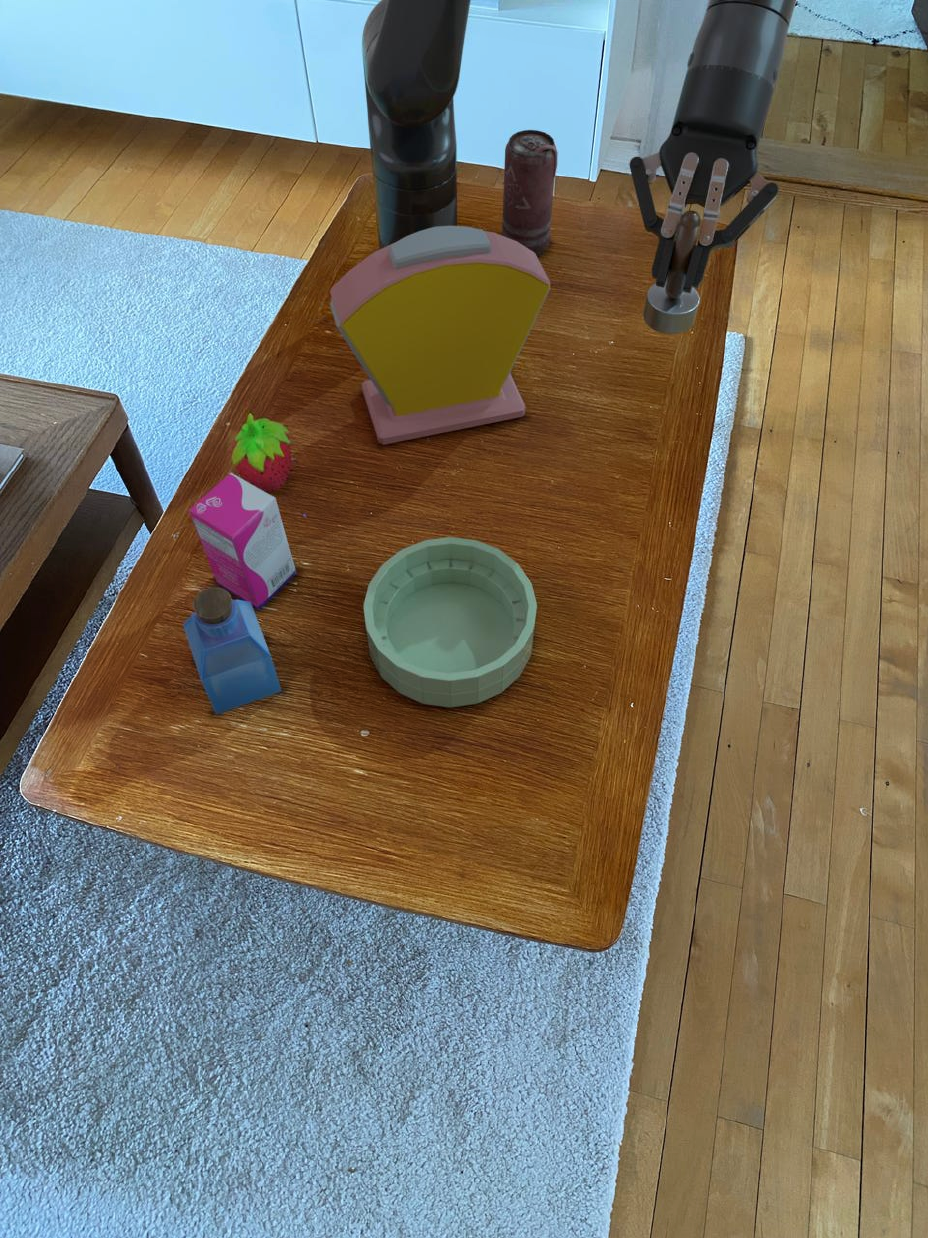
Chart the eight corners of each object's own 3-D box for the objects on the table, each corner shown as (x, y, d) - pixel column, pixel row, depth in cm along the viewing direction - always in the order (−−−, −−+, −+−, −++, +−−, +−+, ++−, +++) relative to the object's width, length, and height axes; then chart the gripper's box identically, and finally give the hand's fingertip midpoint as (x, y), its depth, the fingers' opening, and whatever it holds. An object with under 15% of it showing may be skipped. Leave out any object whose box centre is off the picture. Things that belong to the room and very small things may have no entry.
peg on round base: (637, 303, 92) (656, 198, 83) (685, 298, 93) (710, 192, 84) (651, 337, 90) (672, 232, 81) (701, 331, 90) (728, 226, 81)
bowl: (360, 582, 96) (355, 548, 92) (515, 562, 98) (517, 528, 93) (378, 721, 88) (374, 691, 83) (547, 697, 89) (552, 666, 85)
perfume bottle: (198, 660, 91) (166, 586, 81) (262, 638, 93) (238, 563, 83) (216, 714, 88) (184, 644, 78) (281, 691, 89) (259, 619, 79)
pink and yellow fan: (523, 359, 114) (535, 190, 96) (548, 414, 109) (565, 246, 91) (339, 395, 111) (315, 227, 93) (356, 453, 106) (335, 287, 88)
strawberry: (229, 504, 102) (208, 436, 93) (259, 454, 106) (242, 385, 97) (280, 518, 101) (263, 450, 92) (309, 467, 105) (295, 398, 96)
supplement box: (253, 545, 99) (231, 469, 89) (298, 573, 97) (279, 497, 87) (213, 583, 96) (186, 508, 87) (258, 612, 94) (235, 539, 85)
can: (546, 262, 124) (555, 159, 112) (497, 256, 125) (501, 152, 113) (554, 234, 127) (563, 130, 116) (506, 228, 128) (510, 124, 116)
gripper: (807, 108, 85) (748, 311, 89) (653, 81, 87) (601, 279, 91) (817, 77, 77) (752, 298, 81) (649, 47, 80) (593, 264, 84)
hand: (673, 287), depth 86 cm, fingers closed on peg on round base
